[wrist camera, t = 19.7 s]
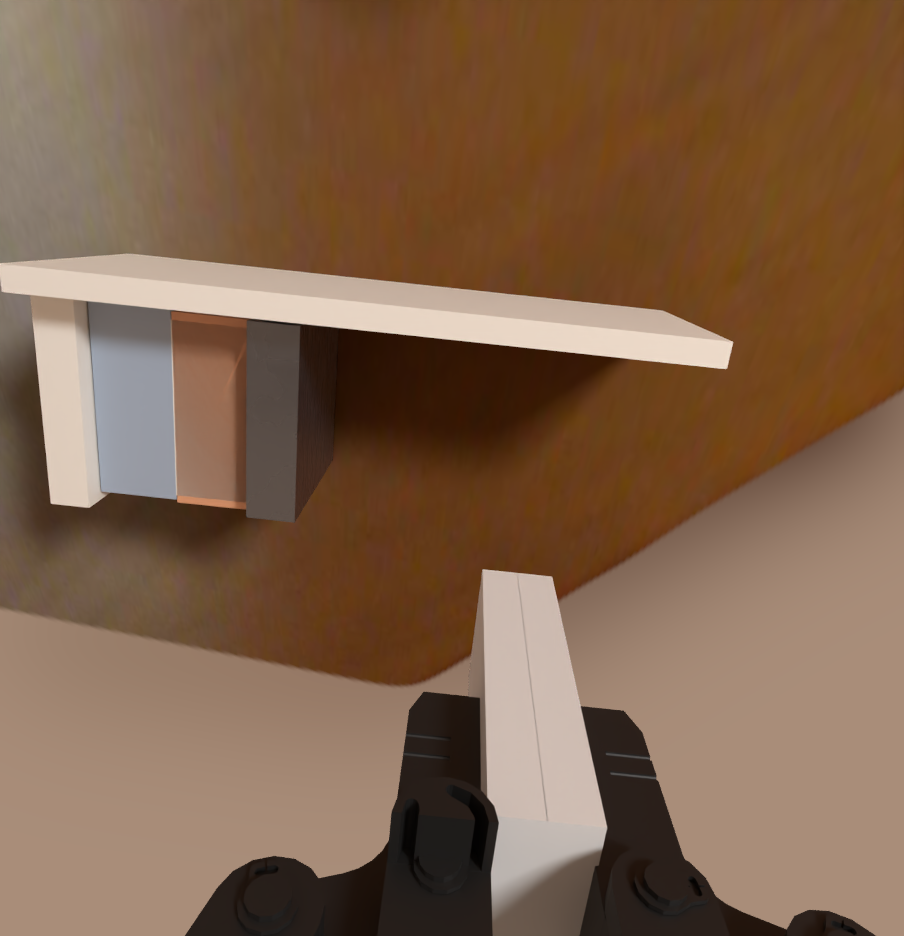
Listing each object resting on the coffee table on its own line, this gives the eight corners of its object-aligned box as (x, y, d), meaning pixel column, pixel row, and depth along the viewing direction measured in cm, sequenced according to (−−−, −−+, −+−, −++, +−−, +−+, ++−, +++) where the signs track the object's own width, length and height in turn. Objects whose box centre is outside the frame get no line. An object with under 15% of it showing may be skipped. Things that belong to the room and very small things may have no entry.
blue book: (172, 441, 45) (101, 491, 37) (166, 284, 42) (87, 299, 33) (233, 448, 45) (176, 499, 37) (232, 291, 42) (170, 308, 33)
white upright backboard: (139, 446, 45) (27, 519, 34) (129, 253, 41) (-2, 263, 30) (625, 497, 45) (675, 587, 34) (662, 310, 41) (732, 341, 30)
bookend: (294, 456, 45) (246, 517, 36) (298, 299, 42) (246, 320, 32) (332, 460, 45) (294, 522, 36) (339, 303, 42) (300, 326, 32)
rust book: (232, 450, 45) (176, 502, 37) (231, 294, 42) (170, 311, 33) (294, 457, 45) (253, 510, 37) (299, 301, 42) (254, 320, 33)
